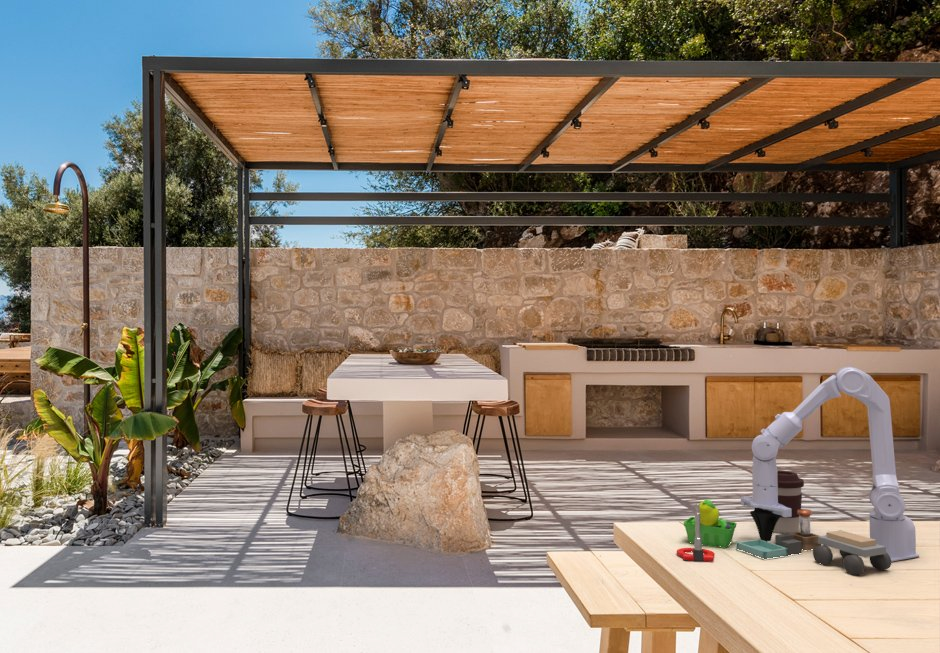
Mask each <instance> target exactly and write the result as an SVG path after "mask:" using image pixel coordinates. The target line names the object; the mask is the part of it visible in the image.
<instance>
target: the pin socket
mask: <svg viewBox="0 0 940 653" xmlns="http://www.w3.org/2000/svg"><path fill="white" fill-rule="evenodd" d="M789 534H793V535H794V539H795V540H798V541H801V547H802V549H803V550H802V551H804V550H810V551H812V550H811V549H814V548H815V547H816V546H821V545H822V544H819V543H818V536H820V535H819V534H815V533H811V532H810V537H803V536H800V533H799V531H798V532H795V533H789Z"/></svg>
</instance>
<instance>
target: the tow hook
mask: <svg viewBox="0 0 940 653" xmlns="http://www.w3.org/2000/svg"><path fill="white" fill-rule="evenodd" d="M699 504H700V503H695V512H694V517H695V538H694V543H693V544H694V547H681V548H677V550H676V555H677V556H679V557H681V558H682V561H685V560H688V562H699V561H703V562H708V561H713V562H714V561H715V559H714V558H715V556H716V555H715V552H714V551H712V550H710V549H706V548H703V545H702V538H701V520H700V513H699ZM691 551H692V552H691ZM685 552H687V553H685ZM703 553H704V554H703Z"/></svg>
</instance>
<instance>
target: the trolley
mask: <svg viewBox="0 0 940 653" xmlns="http://www.w3.org/2000/svg"><path fill="white" fill-rule="evenodd" d="M818 543H819V544H821V546H816V547H815V548H814V549H813V550H812V556H813V559H814V561H815V562H816V563H817V564H818V563H821V564H823V565H822V566H824V565H829V564H831V563H832V562H833V560H834V554H833V551H832V549H835V550H838V551H839V552H838V553H839V554H840V556H841V557H842V559H843V561H842V565H843V568H844V571H846V573H848V574H849V573H850V574H849V575H851V574H853V575H852V576H855V575H857V576H858V575H861V574H863V573H864V571H865V562H864V559H862V558H869V562H870V564H871V566H872V568H874V569H875V570H877V571H885V570H888V569H890V567H891V565H892V561H891V558H890V556H889V555H888V553H886V547H885V546H881V545H878V544H876V540H875V539H871V538H870V537H868V536H863V535H860V534H856V533H852V532H849V531H845V530H842V529H840V530H835V531H834V530H833V531H826V535H819V536H818ZM831 548H832V549H831ZM821 564H820V565H821Z"/></svg>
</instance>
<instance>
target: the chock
mask: <svg viewBox="0 0 940 653" xmlns="http://www.w3.org/2000/svg"><path fill="white" fill-rule="evenodd" d="M774 540H775V542H774V544H776V545H779V546H782V547H785V548H788V555H791V554H798V555H800V554H799V553H802V552H803V550H802V547H801V541H798V540H795V539H794V535H793V534H789V533H778V534H775V535H774Z"/></svg>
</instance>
